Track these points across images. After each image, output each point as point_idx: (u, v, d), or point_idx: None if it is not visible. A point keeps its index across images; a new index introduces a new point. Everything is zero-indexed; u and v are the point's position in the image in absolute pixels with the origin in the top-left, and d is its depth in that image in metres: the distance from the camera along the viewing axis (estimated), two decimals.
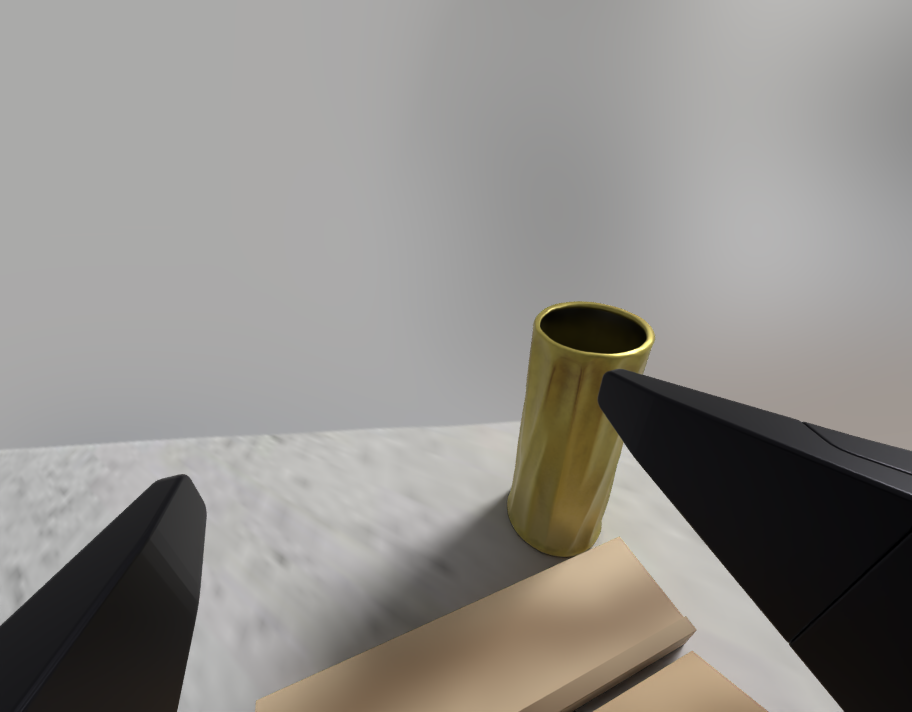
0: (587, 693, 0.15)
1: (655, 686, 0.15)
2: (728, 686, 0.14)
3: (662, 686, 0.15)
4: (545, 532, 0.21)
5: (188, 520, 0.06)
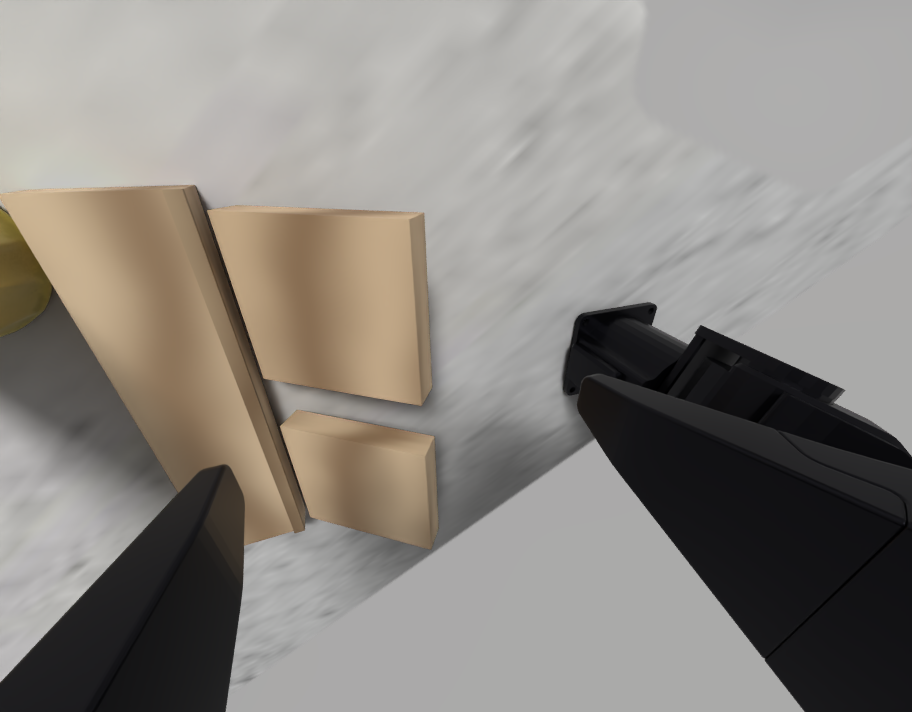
0: (237, 345, 0.15)
1: (239, 280, 0.14)
2: (250, 219, 0.13)
3: (240, 275, 0.14)
4: (5, 326, 0.12)
5: (231, 508, 0.06)
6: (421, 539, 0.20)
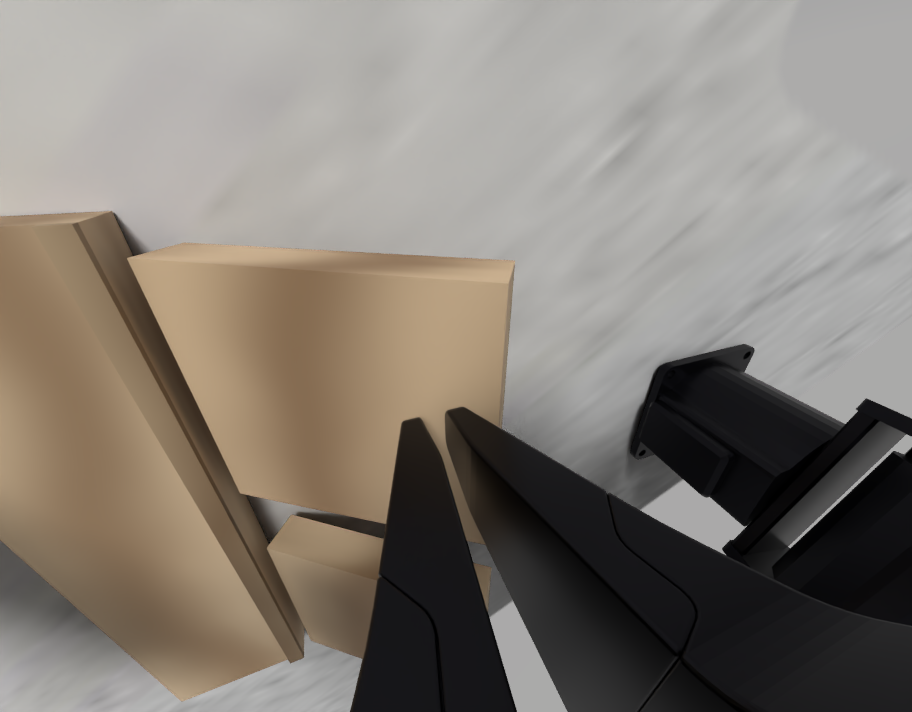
0: (195, 458, 0.10)
1: (192, 366, 0.09)
2: (204, 275, 0.07)
3: (193, 358, 0.09)
4: None
5: None
6: None
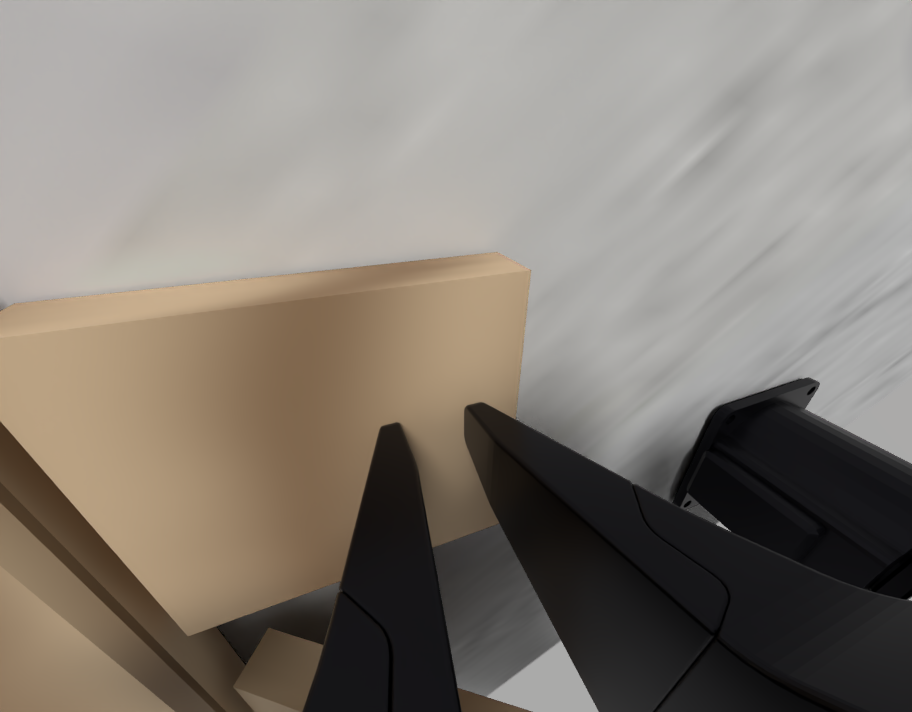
0: (111, 614, 0.07)
1: (99, 487, 0.06)
2: (133, 339, 0.05)
3: (102, 473, 0.06)
4: None
5: None
6: None
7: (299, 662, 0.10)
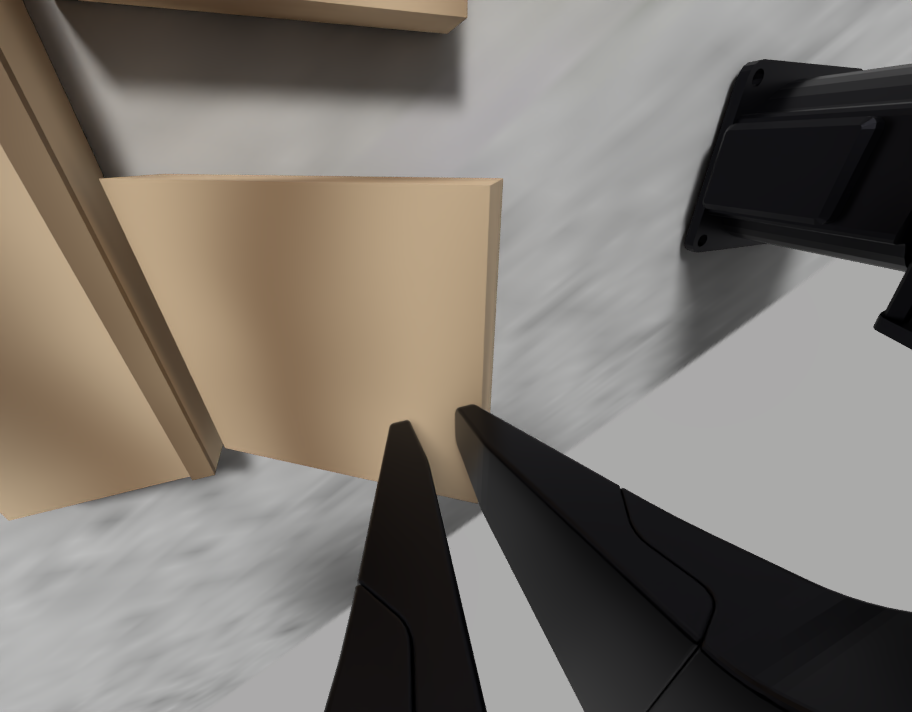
0: None
1: None
2: None
3: None
4: None
5: None
6: (457, 479, 0.09)
7: (193, 175, 0.08)
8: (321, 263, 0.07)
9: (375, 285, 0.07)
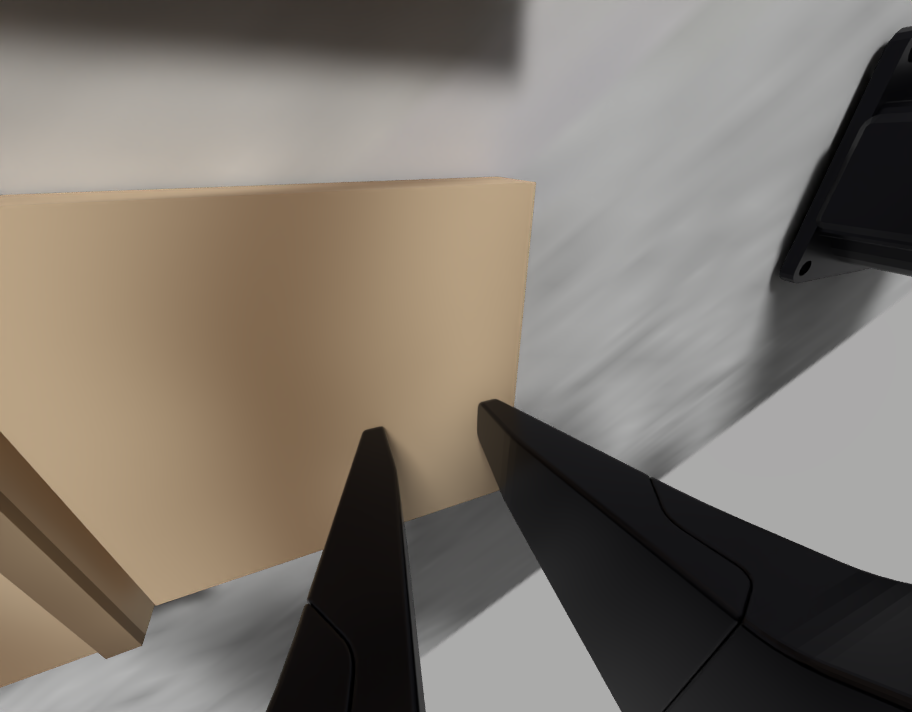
0: None
1: None
2: None
3: None
4: None
5: None
6: (488, 474, 0.09)
7: (51, 195, 0.04)
8: (347, 290, 0.06)
9: (416, 301, 0.06)
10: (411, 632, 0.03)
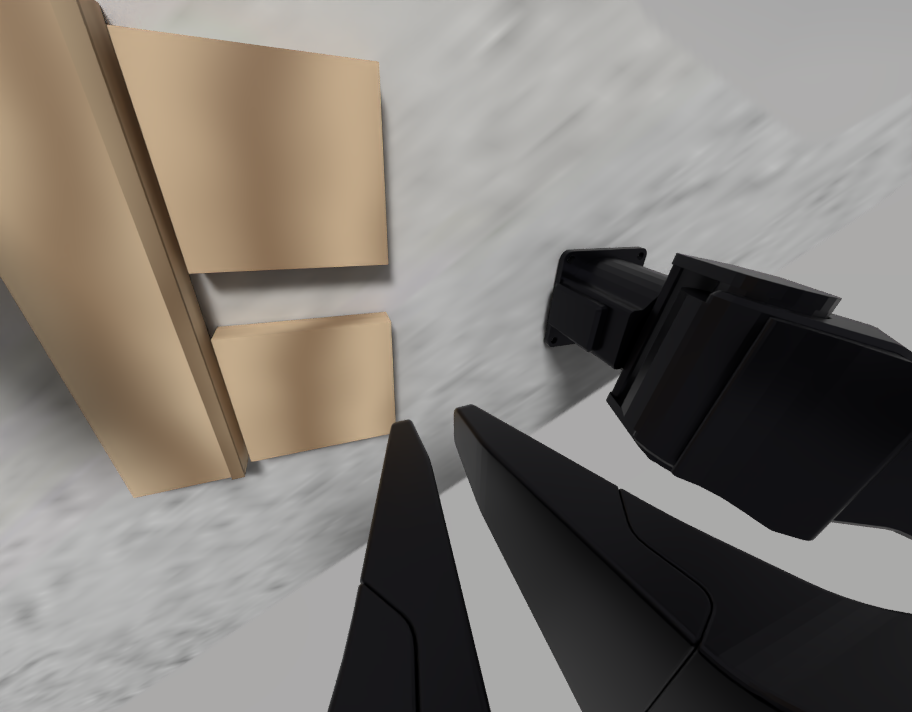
0: (153, 221, 0.13)
1: (157, 131, 0.12)
2: (182, 45, 0.11)
3: (159, 123, 0.12)
4: None
5: None
6: (386, 424, 0.21)
7: (249, 328, 0.17)
8: (328, 353, 0.18)
9: (351, 357, 0.18)
10: (465, 609, 0.04)
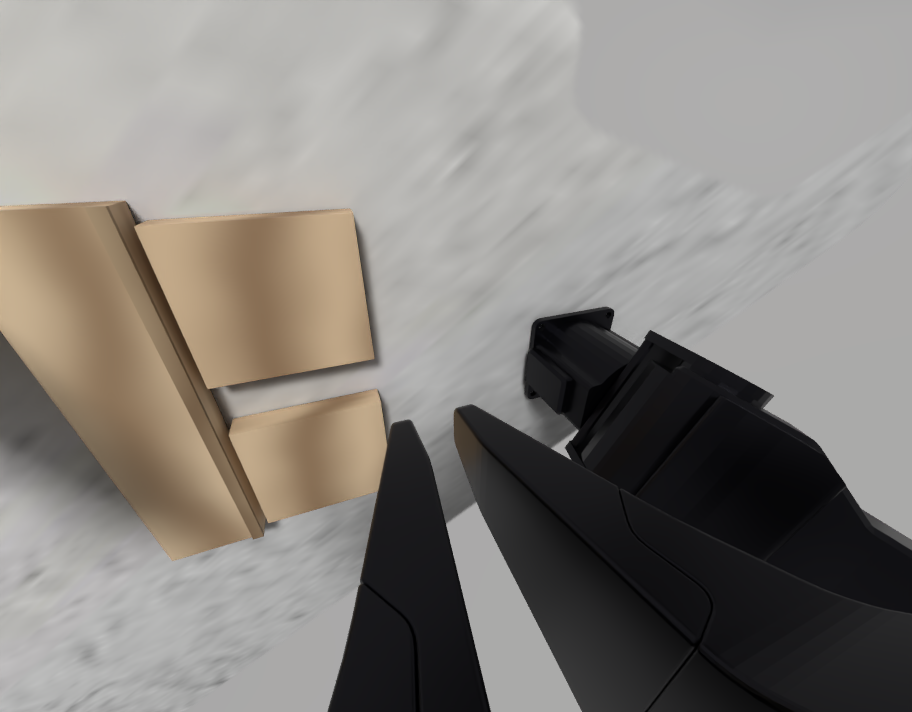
0: (177, 357, 0.16)
1: (176, 292, 0.15)
2: (192, 230, 0.14)
3: (178, 286, 0.15)
4: None
5: None
6: None
7: (260, 418, 0.20)
8: (328, 433, 0.21)
9: (348, 433, 0.21)
10: (465, 609, 0.04)
